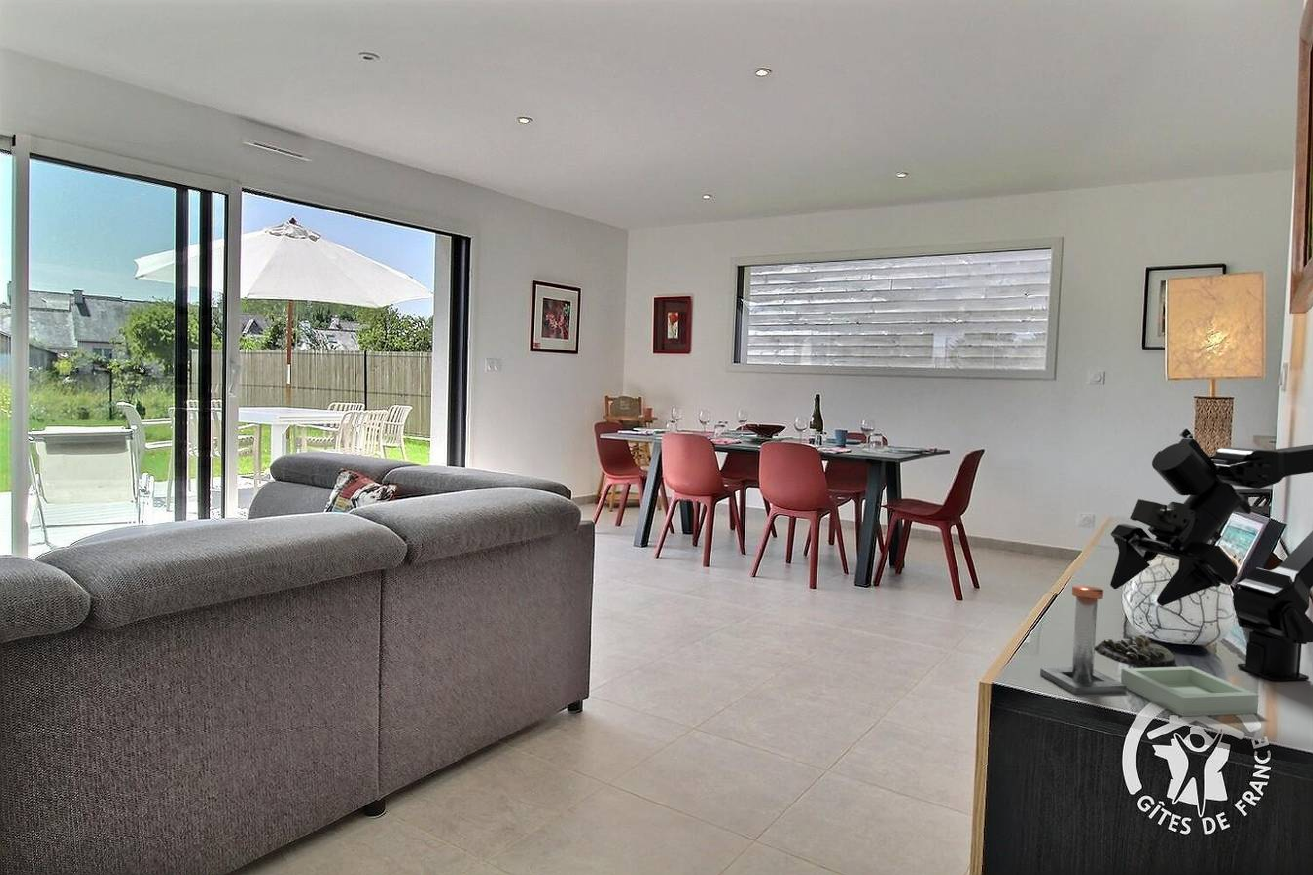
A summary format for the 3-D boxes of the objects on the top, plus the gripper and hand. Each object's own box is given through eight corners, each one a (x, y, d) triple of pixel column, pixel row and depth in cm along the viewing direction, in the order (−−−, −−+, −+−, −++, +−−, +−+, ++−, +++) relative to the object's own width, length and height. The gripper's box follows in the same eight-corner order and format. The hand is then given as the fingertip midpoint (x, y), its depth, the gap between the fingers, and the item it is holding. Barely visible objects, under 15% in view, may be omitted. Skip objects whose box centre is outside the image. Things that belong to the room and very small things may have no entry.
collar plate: (1088, 673, 126) (1088, 666, 126) (1126, 692, 118) (1126, 685, 118) (1040, 674, 125) (1040, 668, 125) (1074, 694, 117) (1075, 687, 117)
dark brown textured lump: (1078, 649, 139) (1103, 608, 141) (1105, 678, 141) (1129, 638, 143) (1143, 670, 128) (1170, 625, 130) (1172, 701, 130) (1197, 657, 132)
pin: (1085, 678, 124) (1090, 585, 123) (1103, 687, 120) (1109, 592, 119) (1060, 678, 123) (1066, 585, 122) (1078, 688, 119) (1084, 592, 118)
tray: (1190, 682, 123) (1191, 666, 123) (1257, 713, 112) (1258, 694, 112) (1120, 685, 121) (1121, 668, 121) (1181, 716, 110) (1183, 697, 110)
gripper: (1121, 473, 132) (1058, 547, 131) (1221, 488, 113) (1149, 575, 112) (1164, 519, 134) (1103, 592, 133) (1270, 541, 115) (1199, 626, 114)
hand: (1134, 595), depth 123 cm, fingers open, 9 cm apart
